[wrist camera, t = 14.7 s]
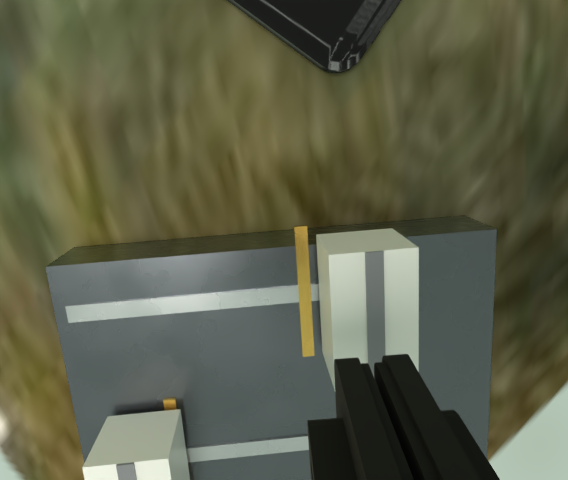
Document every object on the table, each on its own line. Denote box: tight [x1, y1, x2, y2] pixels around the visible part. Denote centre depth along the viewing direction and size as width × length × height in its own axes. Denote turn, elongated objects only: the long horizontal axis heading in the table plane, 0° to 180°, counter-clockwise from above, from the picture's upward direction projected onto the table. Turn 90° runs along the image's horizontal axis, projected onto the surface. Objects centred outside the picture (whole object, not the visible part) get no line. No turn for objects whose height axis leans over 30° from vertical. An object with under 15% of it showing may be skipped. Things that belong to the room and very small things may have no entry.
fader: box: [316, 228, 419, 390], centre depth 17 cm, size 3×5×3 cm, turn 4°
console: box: [46, 216, 497, 480], centre depth 21 cm, size 18×13×3 cm
